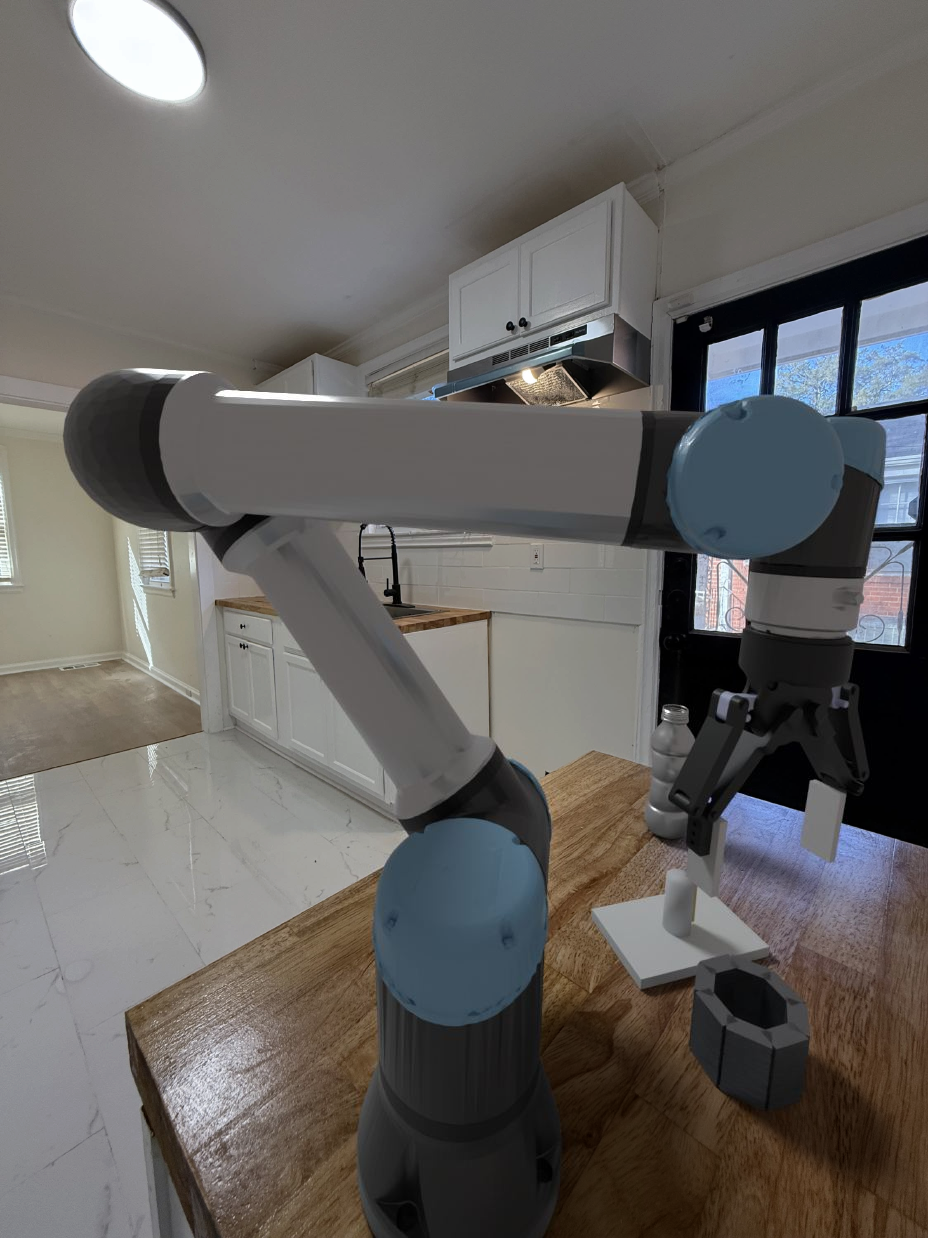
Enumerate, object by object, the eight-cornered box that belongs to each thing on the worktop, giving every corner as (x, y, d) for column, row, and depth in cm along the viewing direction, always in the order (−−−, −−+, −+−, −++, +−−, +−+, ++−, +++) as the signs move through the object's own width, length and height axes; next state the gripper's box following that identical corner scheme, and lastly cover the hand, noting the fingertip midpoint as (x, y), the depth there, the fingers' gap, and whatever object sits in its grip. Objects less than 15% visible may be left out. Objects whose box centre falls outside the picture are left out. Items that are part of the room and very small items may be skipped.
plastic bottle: (638, 835, 77) (646, 710, 74) (650, 815, 83) (658, 698, 79) (683, 850, 74) (694, 720, 70) (692, 828, 79) (703, 706, 76)
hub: (740, 1122, 40) (748, 1058, 39) (670, 1022, 48) (675, 967, 47) (825, 1092, 42) (834, 1030, 41) (744, 1001, 50) (750, 948, 49)
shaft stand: (640, 989, 51) (645, 924, 50) (591, 917, 61) (594, 861, 59) (768, 956, 55) (775, 895, 54) (703, 894, 65) (708, 840, 64)
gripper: (714, 647, 32) (680, 937, 36) (950, 630, 41) (903, 866, 45) (637, 625, 39) (615, 871, 43) (852, 615, 48) (819, 820, 52)
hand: (762, 869), depth 44 cm, fingers open, 13 cm apart
